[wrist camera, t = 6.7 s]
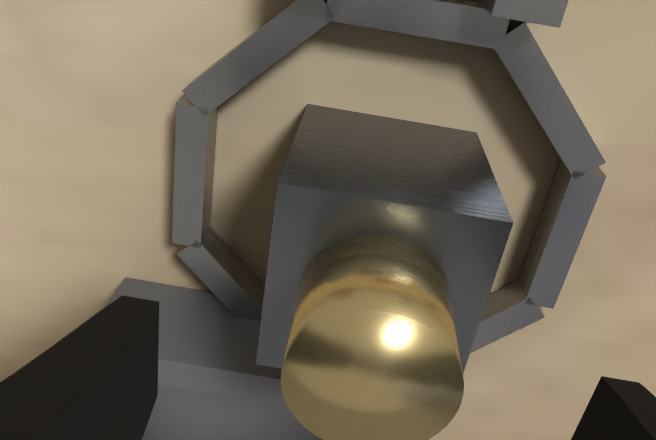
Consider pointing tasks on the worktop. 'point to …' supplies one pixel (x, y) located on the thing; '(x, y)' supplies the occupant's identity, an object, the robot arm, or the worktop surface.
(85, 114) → the worktop surface
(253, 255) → the worktop surface
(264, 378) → the rack
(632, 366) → the worktop surface
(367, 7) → the socket
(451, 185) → the gold-capped square jar
